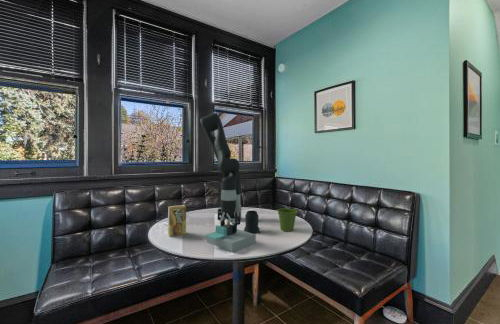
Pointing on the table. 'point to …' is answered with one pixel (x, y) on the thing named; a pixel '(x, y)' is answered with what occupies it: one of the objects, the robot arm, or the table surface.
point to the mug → (251, 222)
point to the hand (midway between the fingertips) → (228, 231)
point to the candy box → (176, 220)
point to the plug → (228, 228)
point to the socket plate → (234, 241)
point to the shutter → (218, 233)
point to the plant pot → (287, 219)
